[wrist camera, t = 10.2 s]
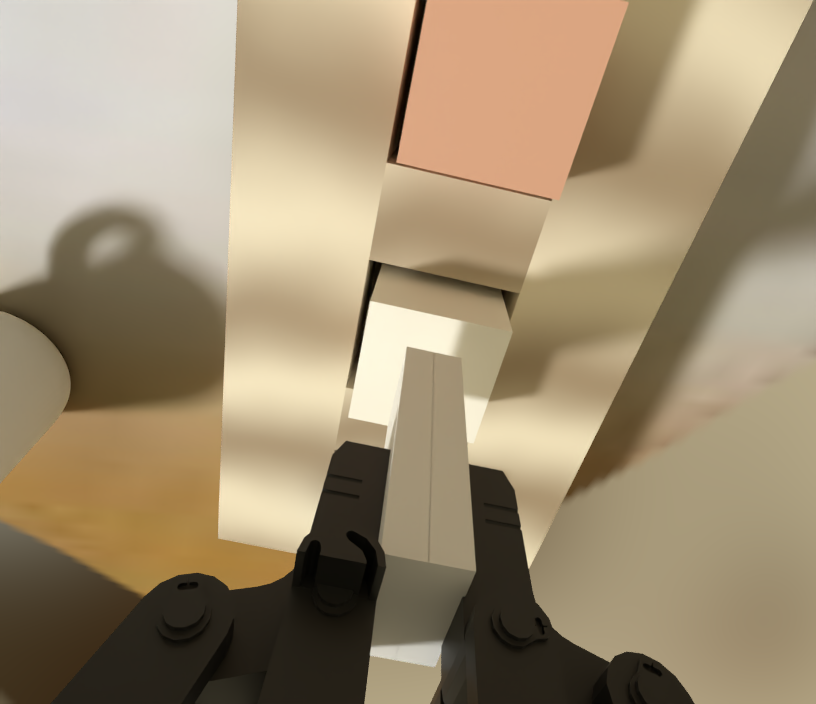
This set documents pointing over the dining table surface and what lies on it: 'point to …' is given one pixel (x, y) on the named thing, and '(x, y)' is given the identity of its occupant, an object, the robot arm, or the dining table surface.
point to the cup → (27, 388)
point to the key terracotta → (507, 88)
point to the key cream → (429, 338)
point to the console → (458, 237)
